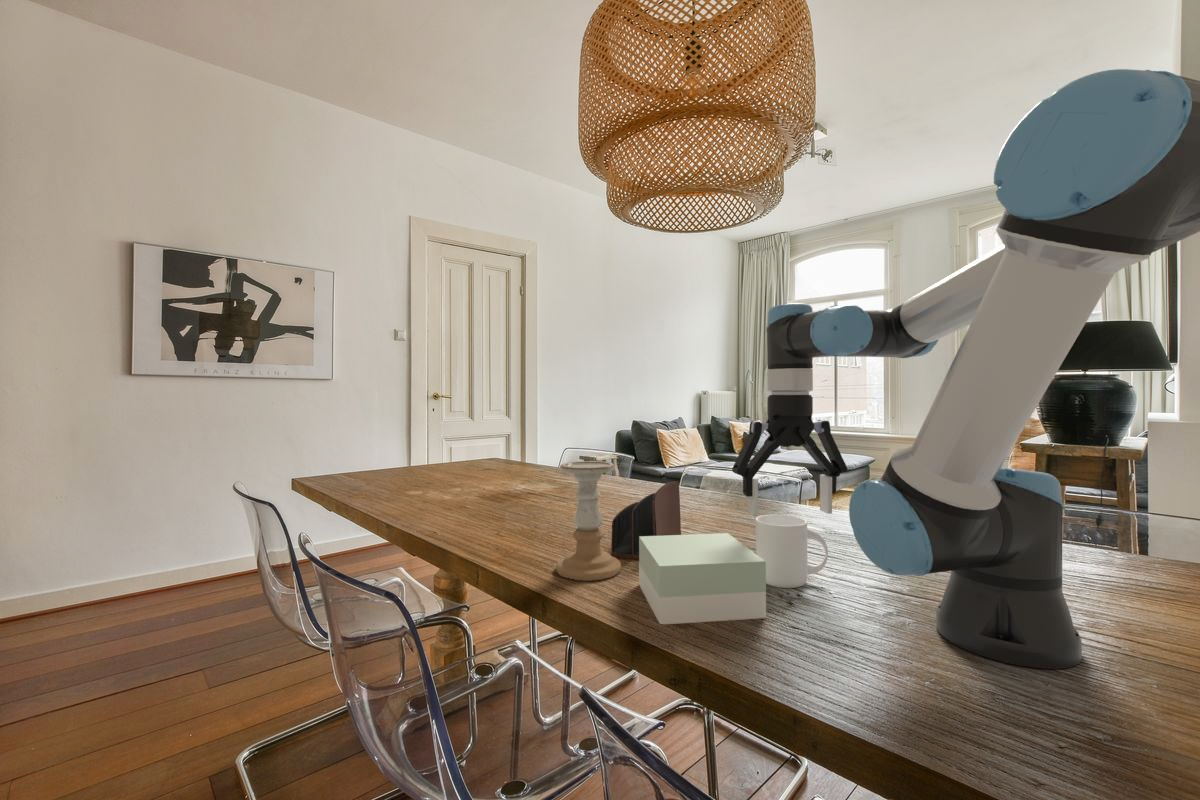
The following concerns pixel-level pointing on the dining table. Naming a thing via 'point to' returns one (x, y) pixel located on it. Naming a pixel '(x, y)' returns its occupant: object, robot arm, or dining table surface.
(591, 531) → the candle holder
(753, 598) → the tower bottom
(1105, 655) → the dining table surface
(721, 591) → the tower top
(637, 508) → the letter holder
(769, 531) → the mug
